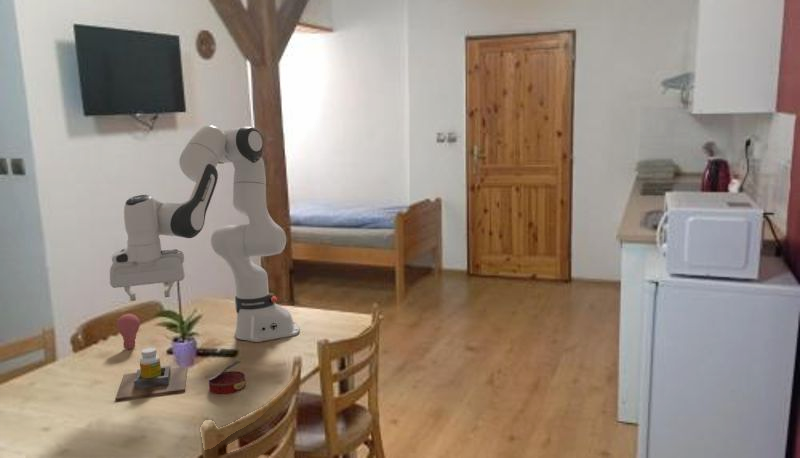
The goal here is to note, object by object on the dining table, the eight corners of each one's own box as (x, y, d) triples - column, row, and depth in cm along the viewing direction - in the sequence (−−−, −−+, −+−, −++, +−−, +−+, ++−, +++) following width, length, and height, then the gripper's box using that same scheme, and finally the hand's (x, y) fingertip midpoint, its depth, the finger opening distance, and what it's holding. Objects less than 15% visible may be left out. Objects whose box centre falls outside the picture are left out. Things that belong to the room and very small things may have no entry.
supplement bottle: (153, 387, 184) (150, 354, 182) (137, 385, 185) (134, 352, 184) (166, 379, 189) (162, 347, 187) (150, 377, 190) (147, 346, 189)
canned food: (222, 411, 180) (203, 386, 175) (214, 394, 188) (196, 370, 184) (257, 386, 183) (239, 360, 178) (248, 370, 191) (230, 346, 187)
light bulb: (146, 345, 222) (142, 311, 220) (135, 352, 215) (131, 317, 213) (126, 344, 222) (122, 311, 220) (115, 352, 215) (111, 317, 213)
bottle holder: (187, 368, 199) (186, 358, 198) (185, 391, 182) (184, 380, 181) (124, 376, 194) (122, 366, 193) (115, 401, 177) (114, 389, 176)
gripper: (183, 246, 193) (188, 291, 196) (108, 253, 187) (114, 299, 190) (182, 251, 187) (187, 297, 190) (105, 258, 181) (111, 305, 184)
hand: (150, 298), depth 190 cm, fingers open, 8 cm apart
